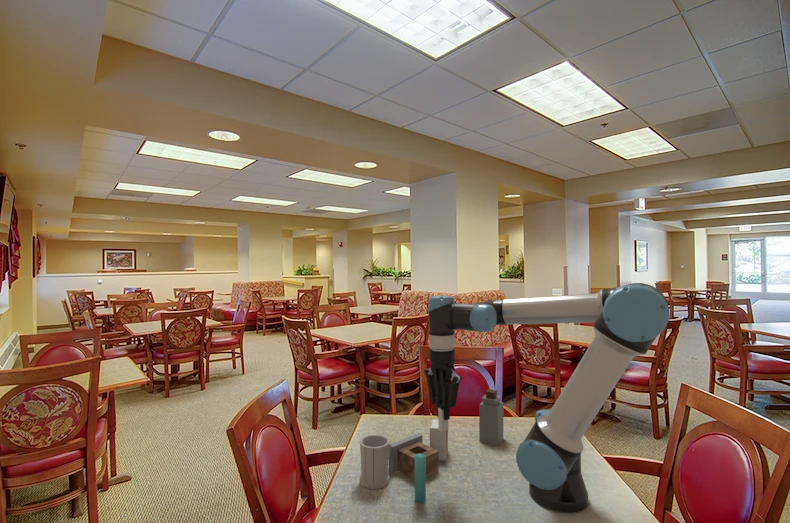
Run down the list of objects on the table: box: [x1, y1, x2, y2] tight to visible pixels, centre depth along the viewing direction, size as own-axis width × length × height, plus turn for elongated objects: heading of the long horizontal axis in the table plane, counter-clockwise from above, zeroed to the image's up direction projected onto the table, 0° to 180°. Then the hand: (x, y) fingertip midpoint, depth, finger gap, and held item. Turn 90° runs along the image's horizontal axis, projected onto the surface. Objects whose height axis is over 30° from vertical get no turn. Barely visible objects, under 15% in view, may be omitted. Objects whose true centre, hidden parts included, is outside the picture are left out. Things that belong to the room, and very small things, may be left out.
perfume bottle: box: [478, 388, 504, 447], centre depth 144 cm, size 7×7×18 cm
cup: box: [359, 434, 391, 490], centre depth 117 cm, size 10×9×12 cm
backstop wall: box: [388, 433, 423, 474], centre depth 126 cm, size 2×13×8 cm, turn 131°
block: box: [397, 441, 440, 482], centre depth 122 cm, size 9×9×6 cm
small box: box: [429, 419, 449, 462], centre depth 133 cm, size 8×6×10 cm
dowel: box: [414, 453, 427, 505], centre depth 107 cm, size 3×3×12 cm
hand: (443, 429), depth 114 cm, fingers closed
